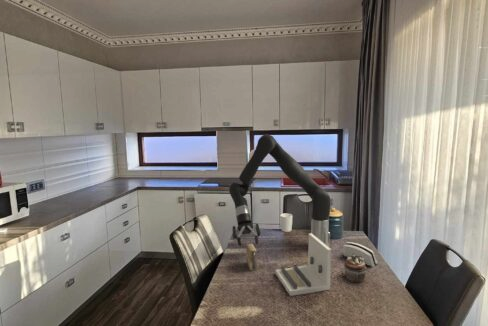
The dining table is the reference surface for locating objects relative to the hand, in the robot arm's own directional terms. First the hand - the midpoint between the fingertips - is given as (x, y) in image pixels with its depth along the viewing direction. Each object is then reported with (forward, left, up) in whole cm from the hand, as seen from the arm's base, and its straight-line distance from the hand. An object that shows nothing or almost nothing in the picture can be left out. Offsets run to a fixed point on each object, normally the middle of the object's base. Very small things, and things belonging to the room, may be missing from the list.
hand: (248, 244), depth 149 cm
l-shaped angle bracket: (-18, +24, -9) cm, 31 cm away
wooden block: (0, +5, -9) cm, 10 cm away
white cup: (-34, -35, -9) cm, 50 cm away
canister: (-58, -19, -9) cm, 62 cm away
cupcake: (-43, +27, -9) cm, 52 cm away
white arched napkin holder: (-54, +14, -9) cm, 57 cm away
